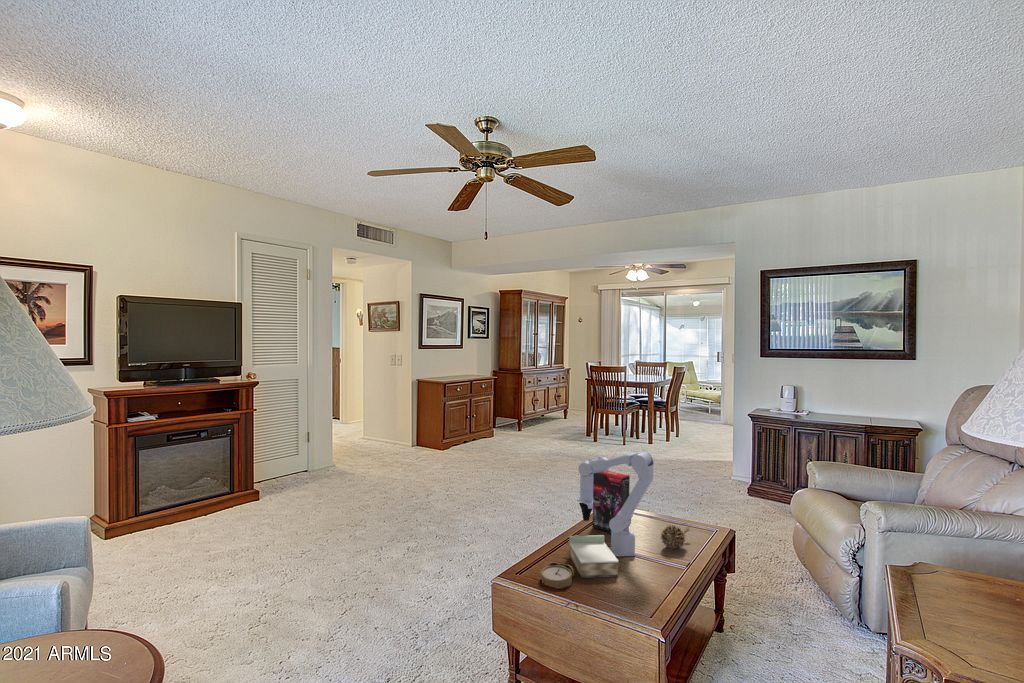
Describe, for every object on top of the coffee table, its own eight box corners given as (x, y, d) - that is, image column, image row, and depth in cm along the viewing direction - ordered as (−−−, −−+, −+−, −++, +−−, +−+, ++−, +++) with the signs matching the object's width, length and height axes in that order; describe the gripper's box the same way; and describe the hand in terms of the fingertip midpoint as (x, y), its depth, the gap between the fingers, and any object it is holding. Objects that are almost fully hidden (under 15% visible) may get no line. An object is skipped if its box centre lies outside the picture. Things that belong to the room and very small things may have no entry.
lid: (603, 549, 210) (603, 535, 210) (618, 570, 190) (618, 554, 191) (569, 550, 208) (569, 535, 208) (580, 571, 189) (581, 555, 189)
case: (603, 557, 208) (604, 544, 209) (617, 576, 191) (618, 563, 191) (570, 557, 207) (570, 545, 207) (581, 577, 189) (581, 564, 189)
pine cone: (677, 556, 211) (678, 532, 211) (655, 550, 217) (655, 526, 217) (696, 541, 228) (696, 519, 228) (675, 536, 234) (676, 514, 234)
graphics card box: (591, 527, 243) (592, 470, 243) (600, 524, 248) (601, 468, 248) (621, 538, 230) (622, 477, 231) (629, 534, 235) (630, 475, 236)
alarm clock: (536, 577, 183) (550, 555, 196) (536, 590, 183) (550, 566, 197) (566, 583, 178) (578, 560, 192) (566, 596, 179) (578, 572, 192)
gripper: (573, 484, 229) (573, 515, 229) (581, 493, 215) (581, 526, 214) (589, 484, 230) (588, 514, 230) (598, 493, 215) (597, 525, 215)
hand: (586, 520), depth 222 cm, fingers closed
